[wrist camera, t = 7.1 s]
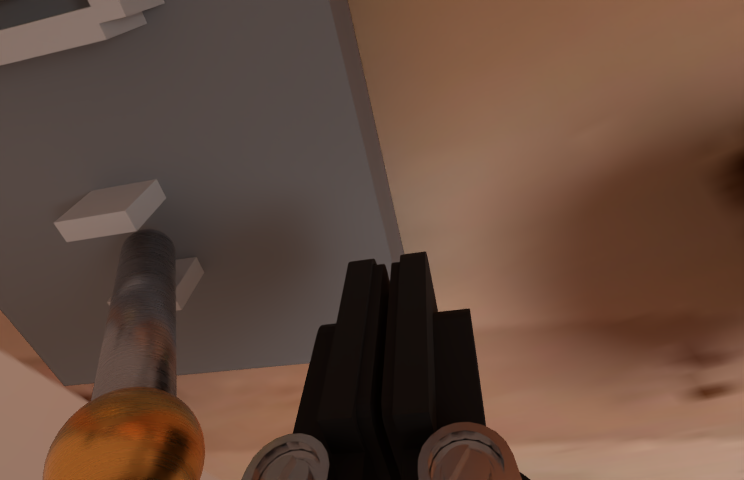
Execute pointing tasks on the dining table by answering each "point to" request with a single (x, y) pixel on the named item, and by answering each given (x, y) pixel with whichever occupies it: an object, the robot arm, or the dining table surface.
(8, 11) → the switch panel
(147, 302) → the lever
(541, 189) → the dining table surface
